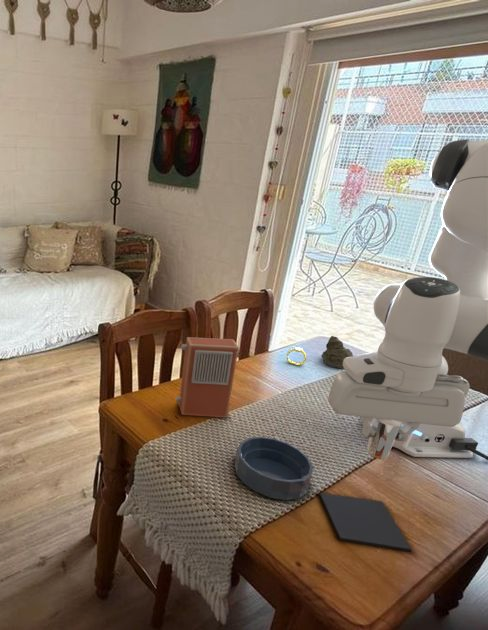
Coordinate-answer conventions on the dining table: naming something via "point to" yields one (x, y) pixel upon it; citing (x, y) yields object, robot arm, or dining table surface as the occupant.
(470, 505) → the dining table surface
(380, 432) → the milkshake
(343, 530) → the mat
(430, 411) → the robot arm
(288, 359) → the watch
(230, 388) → the pink box with grille
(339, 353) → the brown poop pile
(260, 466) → the dish
